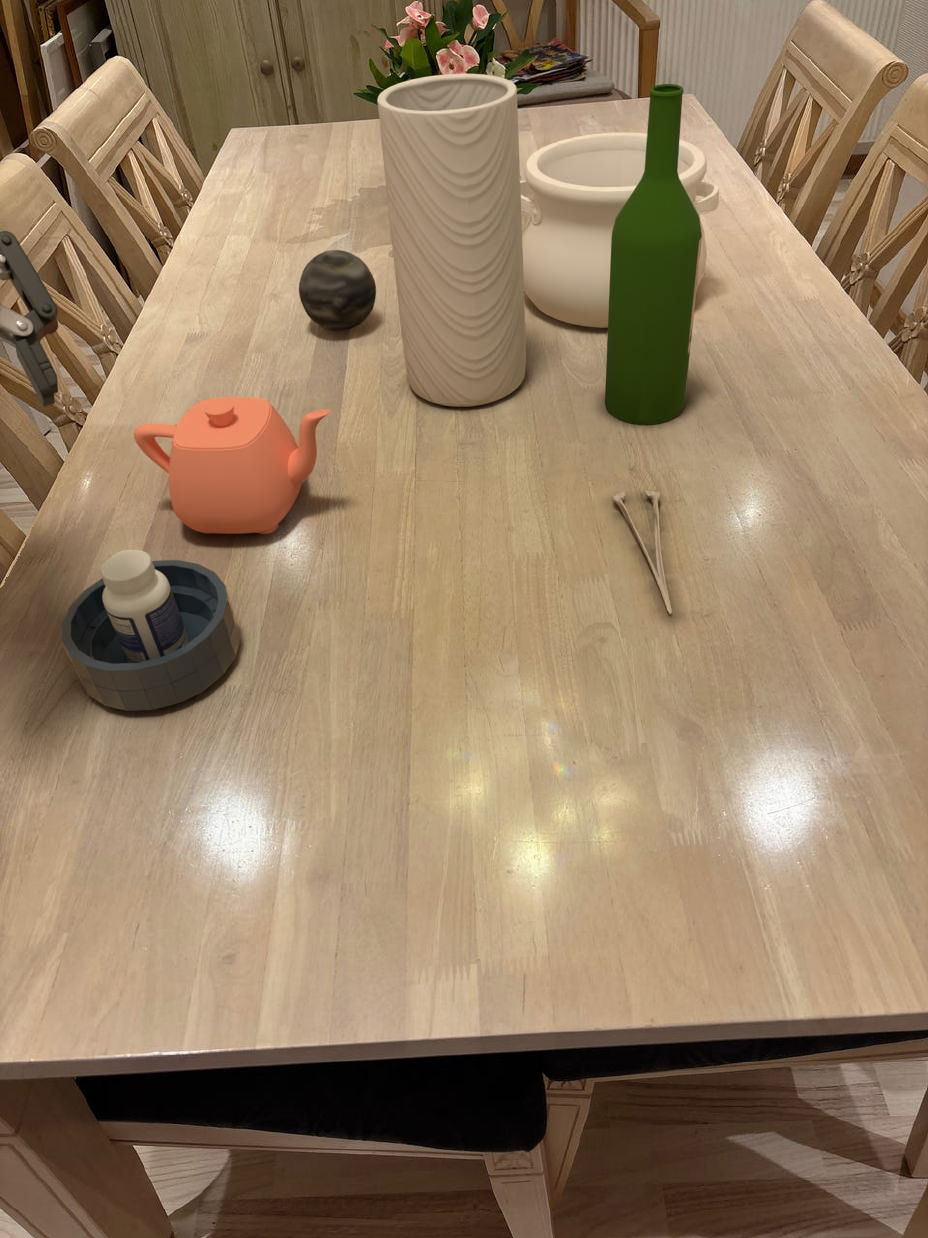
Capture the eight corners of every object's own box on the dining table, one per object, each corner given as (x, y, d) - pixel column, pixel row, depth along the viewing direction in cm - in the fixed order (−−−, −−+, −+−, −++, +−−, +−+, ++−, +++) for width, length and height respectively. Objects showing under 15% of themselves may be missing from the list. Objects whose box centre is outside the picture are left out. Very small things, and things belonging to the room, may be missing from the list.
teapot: (335, 550, 94) (314, 443, 86) (138, 548, 96) (99, 443, 88) (359, 472, 104) (342, 369, 95) (179, 472, 106) (148, 371, 98)
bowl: (115, 743, 77) (93, 696, 74) (62, 650, 86) (39, 604, 82) (268, 667, 83) (254, 619, 79) (203, 586, 91) (188, 540, 87)
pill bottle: (187, 623, 86) (156, 536, 80) (193, 663, 82) (162, 575, 76) (125, 639, 85) (89, 553, 79) (129, 680, 81) (92, 593, 75)
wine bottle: (697, 416, 107) (734, 93, 86) (621, 431, 106) (639, 107, 84) (665, 379, 114) (692, 69, 92) (593, 392, 113) (602, 82, 91)
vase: (521, 412, 111) (513, 110, 89) (398, 411, 112) (361, 115, 91) (530, 352, 121) (524, 69, 100) (417, 352, 123) (388, 74, 102)
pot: (497, 332, 125) (491, 193, 114) (530, 256, 143) (528, 128, 131) (703, 342, 120) (719, 196, 108) (712, 261, 137) (726, 128, 125)
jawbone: (610, 500, 97) (611, 484, 95) (657, 497, 97) (659, 481, 96) (641, 627, 85) (643, 611, 83) (695, 623, 85) (698, 607, 83)
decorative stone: (383, 339, 126) (373, 263, 119) (306, 348, 126) (292, 273, 119) (377, 306, 134) (368, 233, 127) (305, 315, 133) (292, 242, 126)
